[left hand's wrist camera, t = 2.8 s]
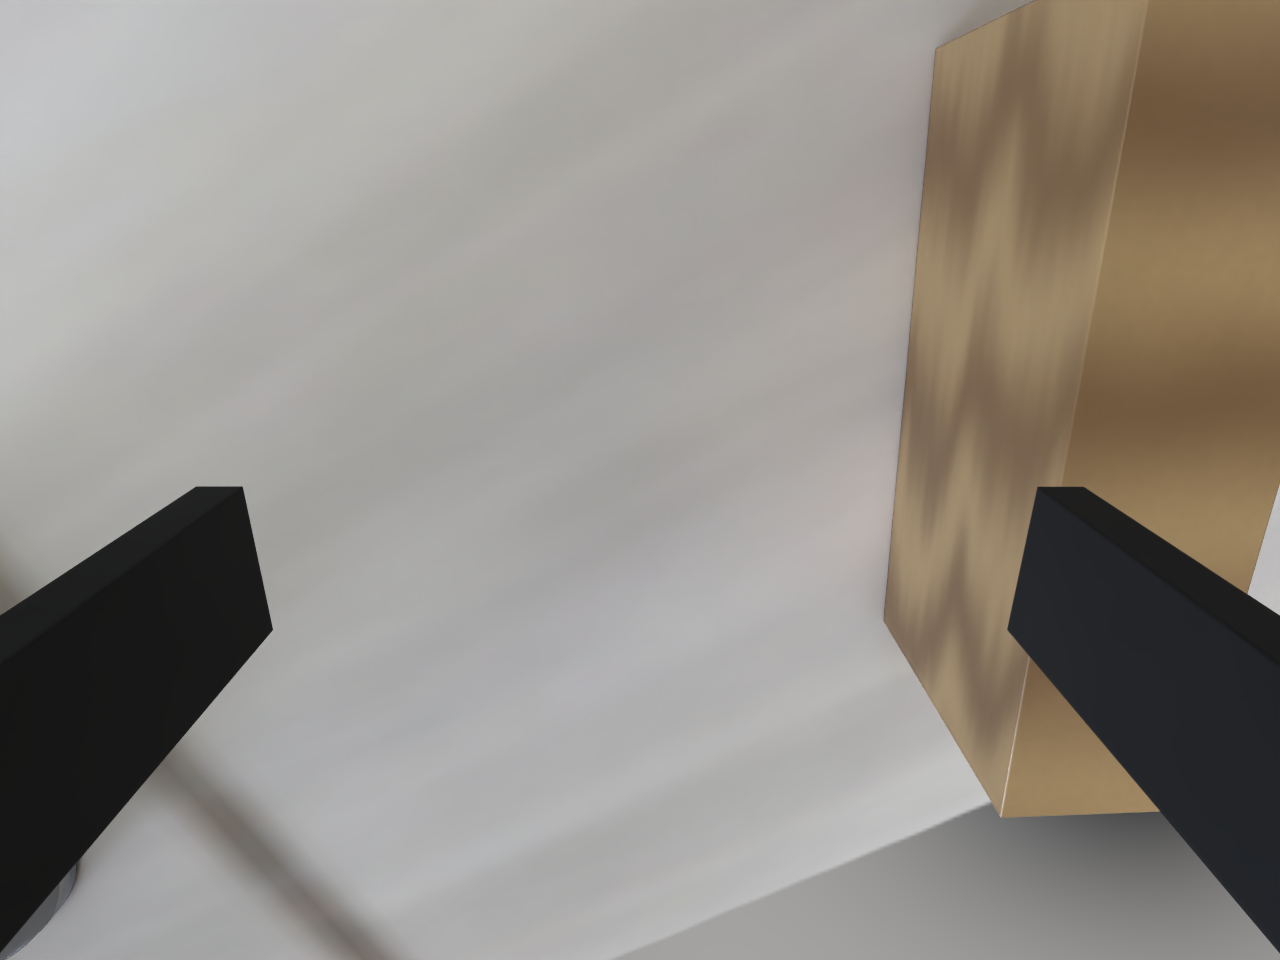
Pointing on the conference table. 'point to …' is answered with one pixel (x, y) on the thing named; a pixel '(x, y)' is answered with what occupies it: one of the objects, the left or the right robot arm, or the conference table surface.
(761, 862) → the conference table surface
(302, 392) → the conference table surface
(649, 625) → the conference table surface
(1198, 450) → the box
